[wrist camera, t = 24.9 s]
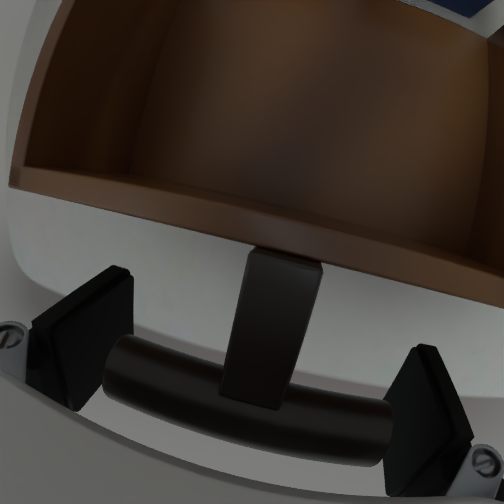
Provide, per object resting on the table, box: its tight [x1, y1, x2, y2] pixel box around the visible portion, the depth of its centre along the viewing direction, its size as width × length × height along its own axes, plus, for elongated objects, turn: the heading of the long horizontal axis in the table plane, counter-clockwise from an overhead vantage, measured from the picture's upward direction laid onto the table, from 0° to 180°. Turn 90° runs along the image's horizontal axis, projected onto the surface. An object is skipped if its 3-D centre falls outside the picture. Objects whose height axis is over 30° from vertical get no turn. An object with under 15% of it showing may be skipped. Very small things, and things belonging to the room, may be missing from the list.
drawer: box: [8, 0, 504, 467], centre depth 7 cm, size 14×14×7 cm
